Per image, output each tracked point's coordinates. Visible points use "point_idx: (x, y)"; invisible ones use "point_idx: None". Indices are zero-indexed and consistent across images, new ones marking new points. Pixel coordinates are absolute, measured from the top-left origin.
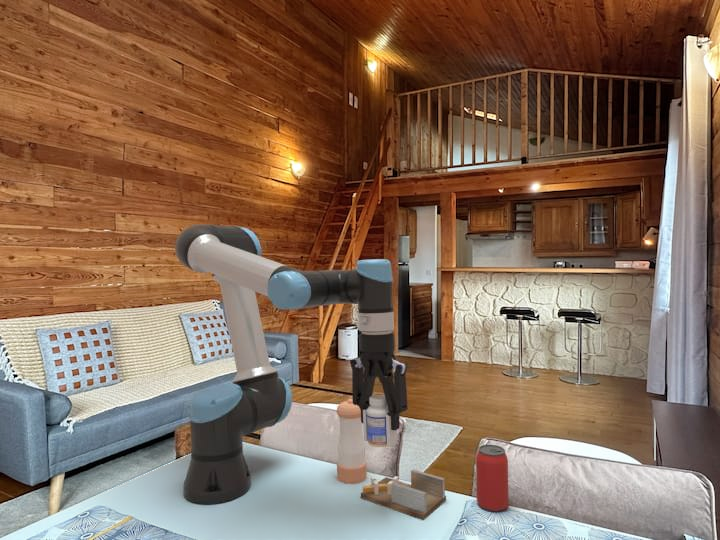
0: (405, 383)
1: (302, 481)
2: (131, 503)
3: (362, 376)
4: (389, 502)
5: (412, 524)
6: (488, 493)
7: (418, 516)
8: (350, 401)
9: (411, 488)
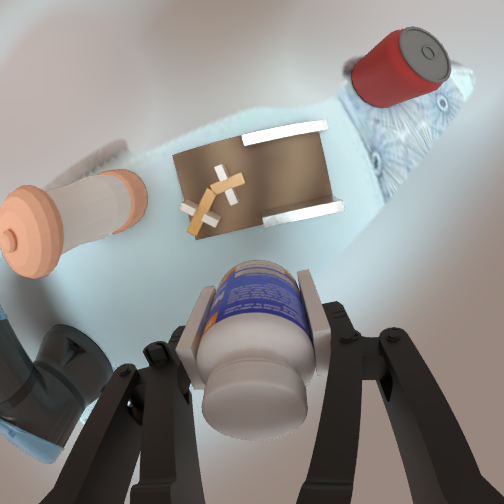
0: (458, 431)
1: (96, 275)
2: (86, 409)
3: (95, 470)
4: (259, 221)
5: (328, 230)
6: (400, 102)
7: None
8: (12, 249)
9: (309, 210)
